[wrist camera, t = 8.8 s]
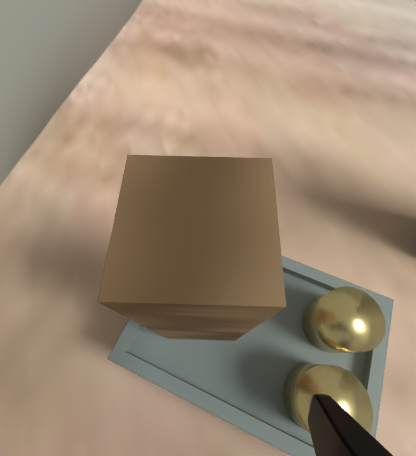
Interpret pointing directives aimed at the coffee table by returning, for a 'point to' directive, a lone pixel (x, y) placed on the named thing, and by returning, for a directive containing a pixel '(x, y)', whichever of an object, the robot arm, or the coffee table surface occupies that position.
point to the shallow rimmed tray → (255, 363)
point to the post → (195, 246)
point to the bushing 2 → (326, 392)
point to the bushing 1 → (344, 321)
